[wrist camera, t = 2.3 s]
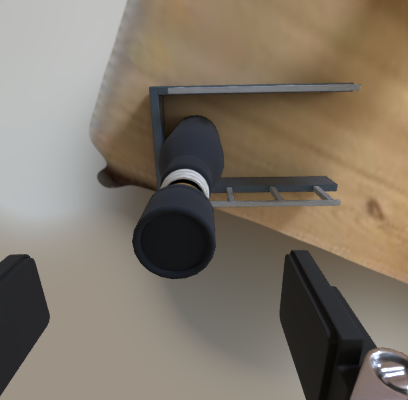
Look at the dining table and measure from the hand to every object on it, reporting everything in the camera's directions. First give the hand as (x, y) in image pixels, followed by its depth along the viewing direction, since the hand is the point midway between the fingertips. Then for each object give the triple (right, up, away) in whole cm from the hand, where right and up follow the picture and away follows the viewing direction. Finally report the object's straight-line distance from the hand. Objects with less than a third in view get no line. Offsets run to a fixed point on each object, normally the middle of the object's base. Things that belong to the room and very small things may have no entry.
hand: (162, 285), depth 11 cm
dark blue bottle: (0, +12, +30) cm, 33 cm away
